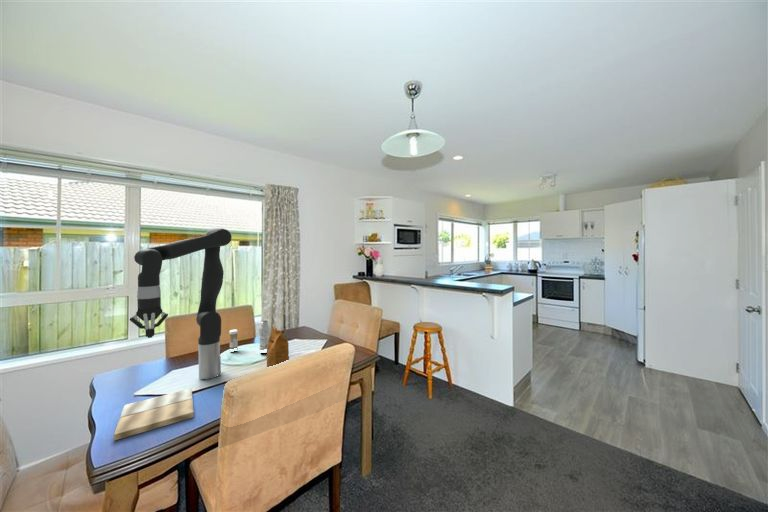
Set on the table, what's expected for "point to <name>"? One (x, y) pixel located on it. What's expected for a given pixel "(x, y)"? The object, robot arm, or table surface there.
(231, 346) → the sprinkles bottle
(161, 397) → the grey-washed plank
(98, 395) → the table surface
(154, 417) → the honey oak plank
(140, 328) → the robot arm
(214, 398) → the table surface
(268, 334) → the plastic bottle
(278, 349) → the coffee package
